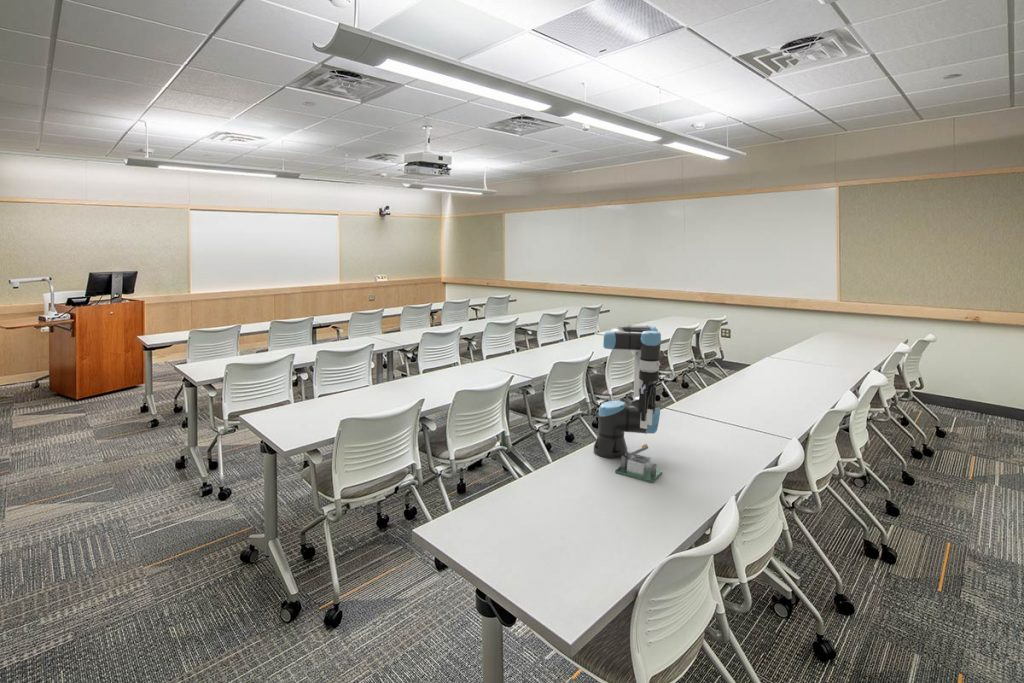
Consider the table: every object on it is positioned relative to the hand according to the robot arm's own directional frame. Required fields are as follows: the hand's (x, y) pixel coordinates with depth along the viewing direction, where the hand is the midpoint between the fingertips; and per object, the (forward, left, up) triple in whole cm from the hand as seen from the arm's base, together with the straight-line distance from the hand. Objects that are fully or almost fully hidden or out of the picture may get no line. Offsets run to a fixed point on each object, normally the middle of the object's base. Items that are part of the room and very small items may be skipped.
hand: (645, 426), depth 210 cm
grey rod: (-3, 0, -13) cm, 13 cm away
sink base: (-2, 0, -21) cm, 21 cm away
